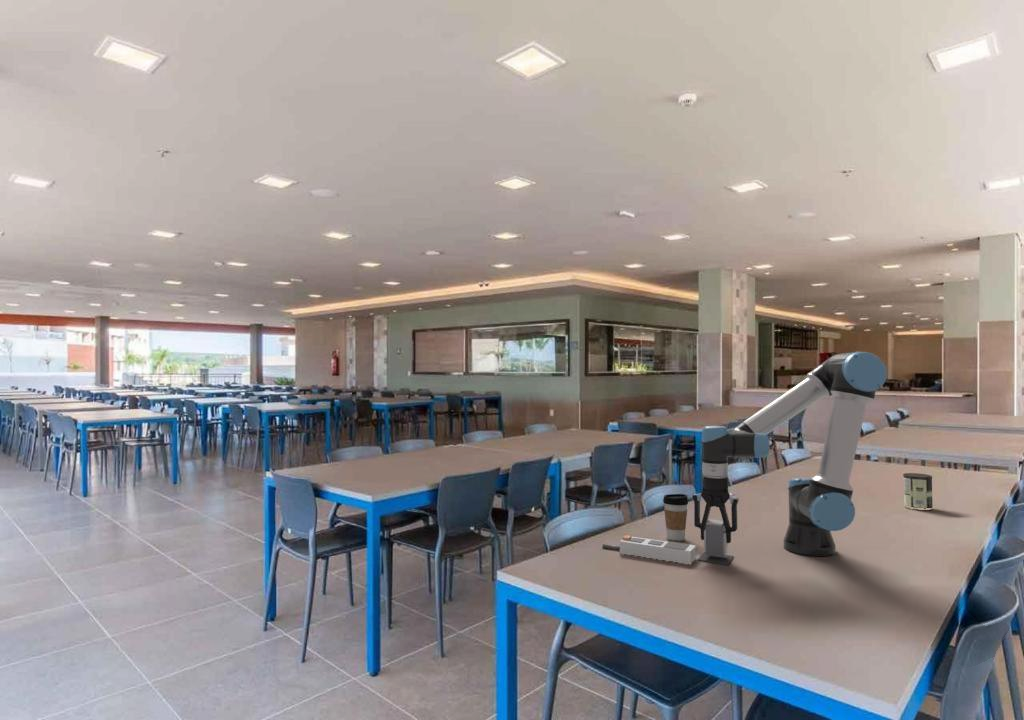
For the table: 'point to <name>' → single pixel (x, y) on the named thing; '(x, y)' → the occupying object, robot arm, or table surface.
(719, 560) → the mat
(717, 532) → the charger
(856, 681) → the table surface
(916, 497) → the coffee can
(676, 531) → the coffee cup
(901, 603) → the table surface
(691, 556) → the power strip
